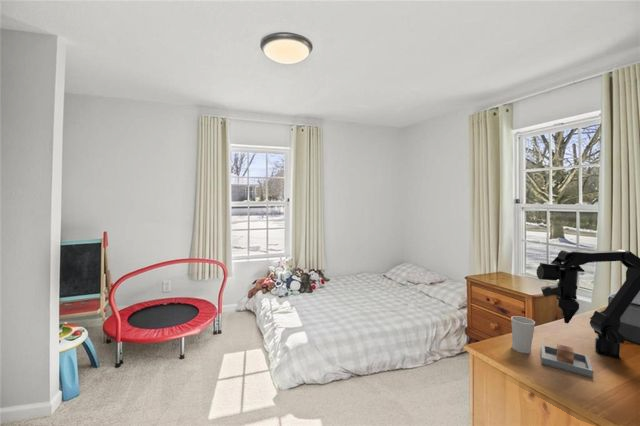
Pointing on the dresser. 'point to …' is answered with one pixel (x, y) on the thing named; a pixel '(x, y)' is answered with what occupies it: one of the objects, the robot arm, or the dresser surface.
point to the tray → (579, 364)
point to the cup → (522, 333)
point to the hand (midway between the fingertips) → (565, 319)
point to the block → (565, 354)
